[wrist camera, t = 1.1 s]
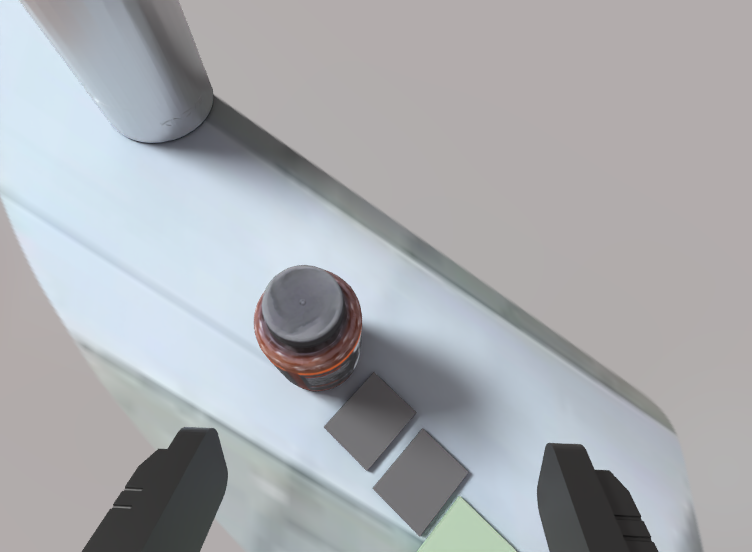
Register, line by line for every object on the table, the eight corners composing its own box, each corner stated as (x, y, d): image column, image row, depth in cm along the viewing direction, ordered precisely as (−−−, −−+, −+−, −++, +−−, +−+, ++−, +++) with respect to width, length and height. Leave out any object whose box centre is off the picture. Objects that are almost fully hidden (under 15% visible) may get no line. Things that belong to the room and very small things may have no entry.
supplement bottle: (377, 347, 32) (390, 299, 21) (320, 410, 30) (304, 392, 20) (318, 294, 33) (302, 225, 23) (260, 353, 31) (214, 307, 21)
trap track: (302, 450, 29) (301, 450, 29) (373, 372, 31) (374, 372, 31) (484, 641, 26) (486, 644, 26) (550, 540, 28) (553, 541, 28)
